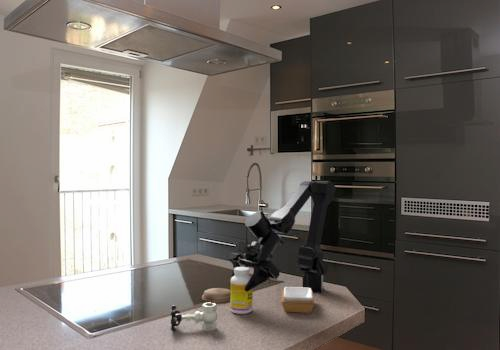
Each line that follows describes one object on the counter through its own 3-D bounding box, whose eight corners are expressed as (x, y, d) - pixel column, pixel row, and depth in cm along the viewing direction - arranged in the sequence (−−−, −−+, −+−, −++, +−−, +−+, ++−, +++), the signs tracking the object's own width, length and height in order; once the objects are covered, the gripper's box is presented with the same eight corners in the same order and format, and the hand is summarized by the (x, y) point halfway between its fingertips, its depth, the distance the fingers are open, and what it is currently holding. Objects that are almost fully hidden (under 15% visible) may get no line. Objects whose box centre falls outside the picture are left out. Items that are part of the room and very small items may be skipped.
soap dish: (314, 315, 121) (314, 298, 121) (281, 313, 122) (281, 296, 122) (312, 302, 134) (312, 286, 134) (282, 300, 135) (282, 285, 135)
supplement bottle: (249, 315, 120) (250, 271, 120) (227, 313, 121) (228, 270, 121) (254, 308, 127) (254, 266, 126) (233, 306, 128) (233, 265, 128)
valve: (216, 324, 113) (172, 325, 112) (217, 300, 113) (173, 301, 112) (217, 333, 107) (170, 335, 106) (217, 308, 107) (170, 309, 106)
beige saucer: (237, 295, 140) (237, 289, 140) (225, 304, 130) (225, 298, 130) (210, 291, 143) (210, 286, 143) (196, 300, 133) (196, 294, 133)
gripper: (232, 227, 133) (204, 266, 126) (273, 234, 119) (244, 278, 112) (250, 248, 139) (224, 287, 131) (291, 257, 125) (264, 301, 117)
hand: (237, 288), depth 123 cm, fingers closed on supplement bottle, 7 cm apart
